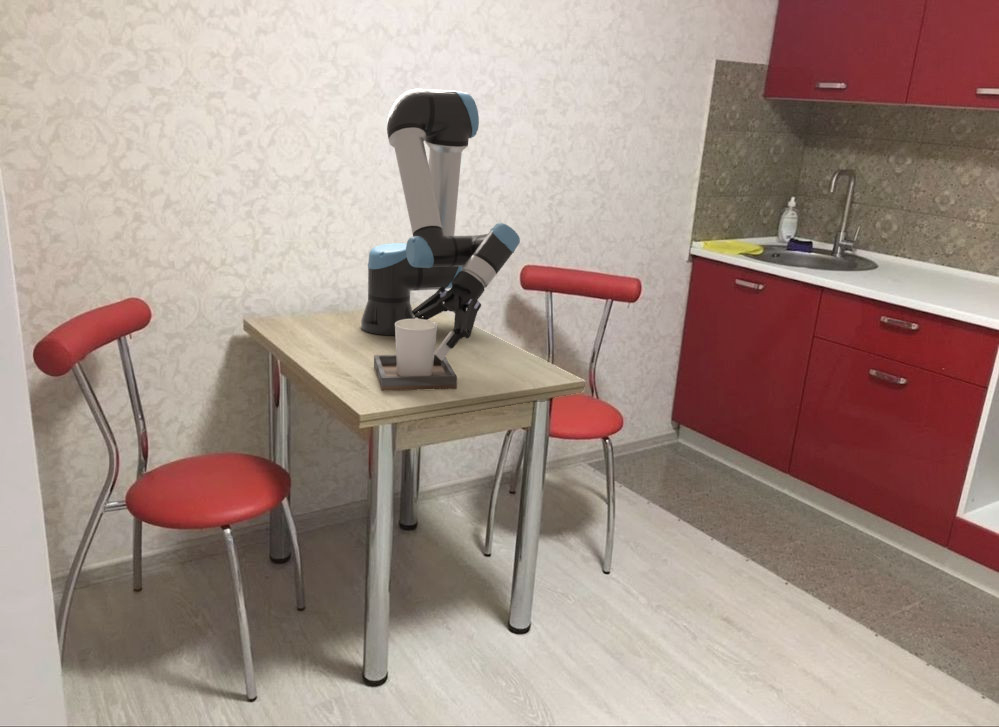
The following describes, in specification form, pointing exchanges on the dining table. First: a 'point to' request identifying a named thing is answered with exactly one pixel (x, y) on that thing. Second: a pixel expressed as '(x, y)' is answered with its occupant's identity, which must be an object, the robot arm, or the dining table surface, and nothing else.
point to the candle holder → (415, 347)
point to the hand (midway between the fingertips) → (420, 349)
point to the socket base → (392, 381)
